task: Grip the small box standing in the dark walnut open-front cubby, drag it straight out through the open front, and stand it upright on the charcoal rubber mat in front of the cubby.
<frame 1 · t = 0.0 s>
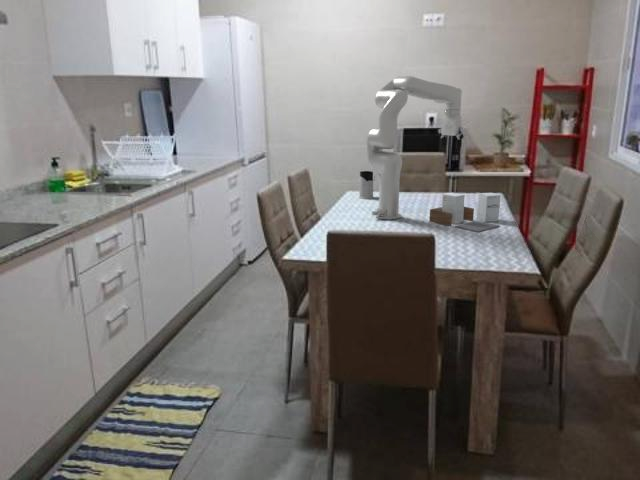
hand: (450, 146, 277), 31 cm above the table, tool pointing down, fingers open, 9 cm apart
small box: (452, 222, 248), on the table
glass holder: (370, 197, 309), on the table
cubby: (452, 221, 248), on the table
supplement box: (487, 220, 250), on the table
mat: (477, 227, 237), on the table
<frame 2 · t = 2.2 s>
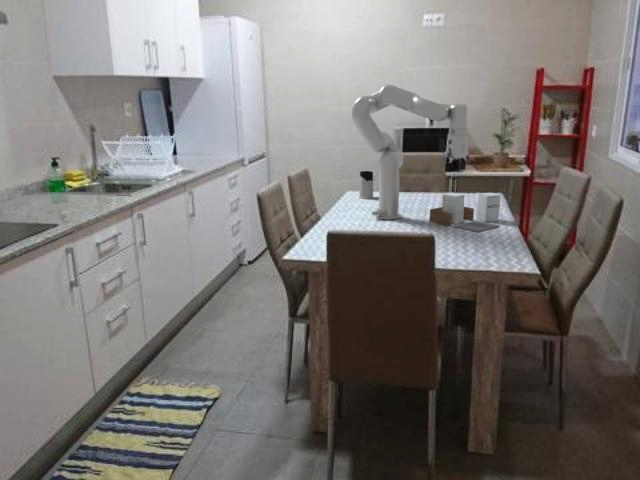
hand: (455, 170, 242), 24 cm above the table, tool pointing down, fingers open, 9 cm apart
nothing on the table moved.
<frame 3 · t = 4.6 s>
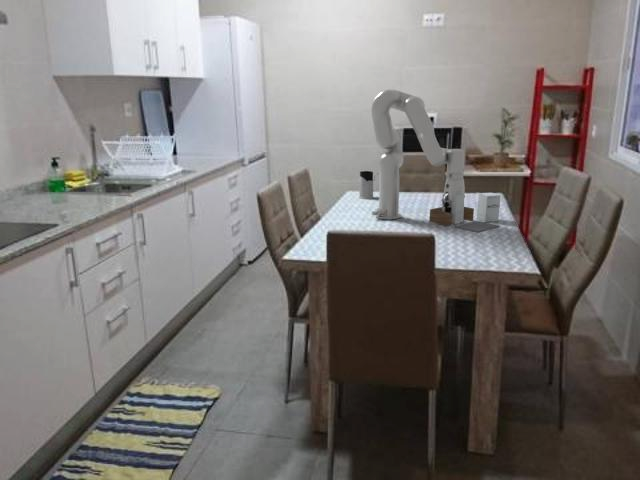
hand: (452, 214, 247), 4 cm above the table, tool pointing down, fingers closed on small box, 6 cm apart
small box: (452, 222, 248), on the table, touching gripper
everything else where it was.
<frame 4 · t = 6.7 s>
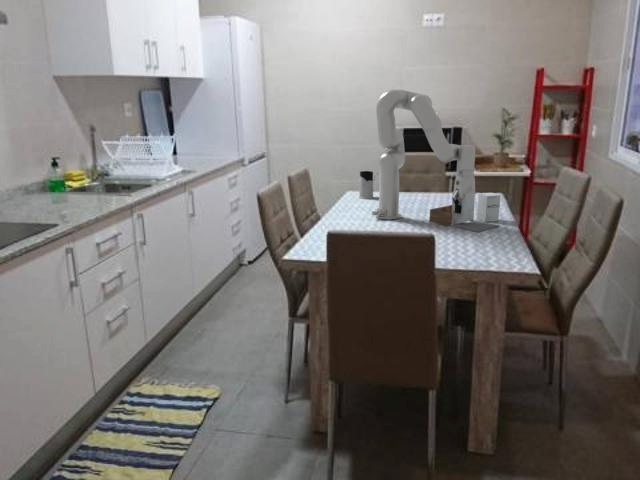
hand: (462, 211, 242), 6 cm above the table, tool pointing down, fingers closed on small box, 6 cm apart
small box: (462, 219, 243), point 2 cm above the table, touching gripper
everything else where it was.
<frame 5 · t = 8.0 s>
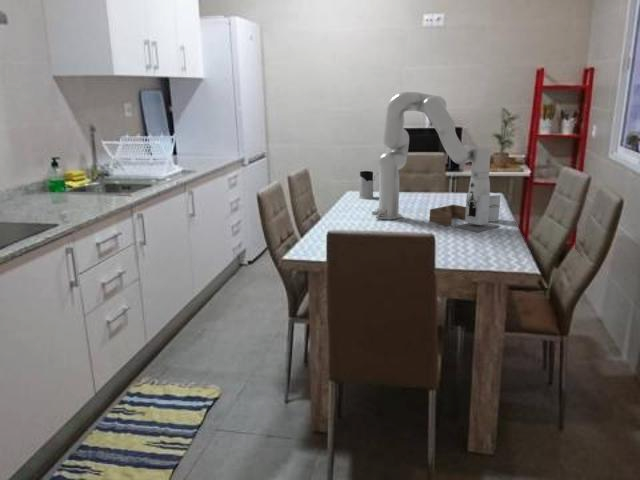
hand: (476, 214, 236), 6 cm above the table, tool pointing down, fingers closed on small box, 6 cm apart
small box: (476, 223, 237), point 2 cm above the table, touching gripper
everything else where it was.
when the fingers open (4 cm above the table, at t = 9.0 s): small box stays where it is, resting on mat.
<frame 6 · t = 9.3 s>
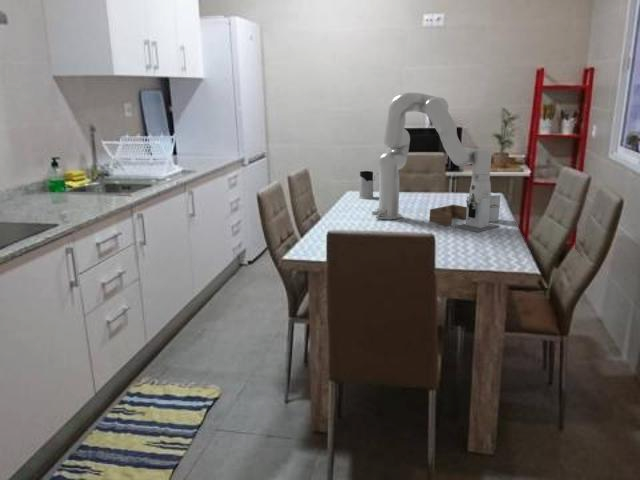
hand: (478, 215, 236), 5 cm above the table, tool pointing down, fingers open, 8 cm apart
small box: (476, 226, 238), resting on mat
everything else where it was.
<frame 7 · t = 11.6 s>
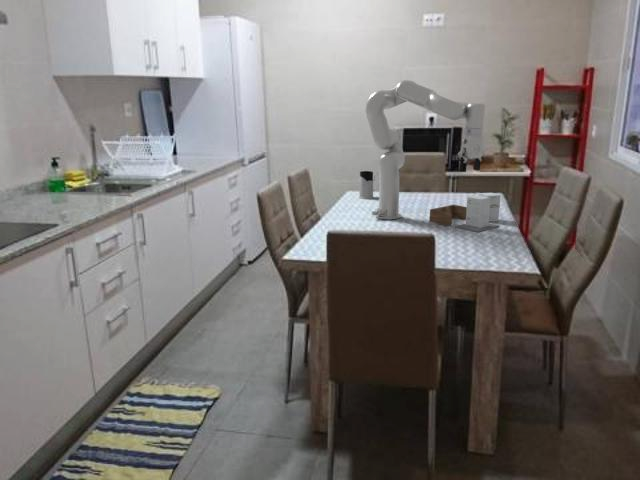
hand: (469, 170, 237), 24 cm above the table, tool pointing down, fingers open, 9 cm apart
nothing on the table moved.
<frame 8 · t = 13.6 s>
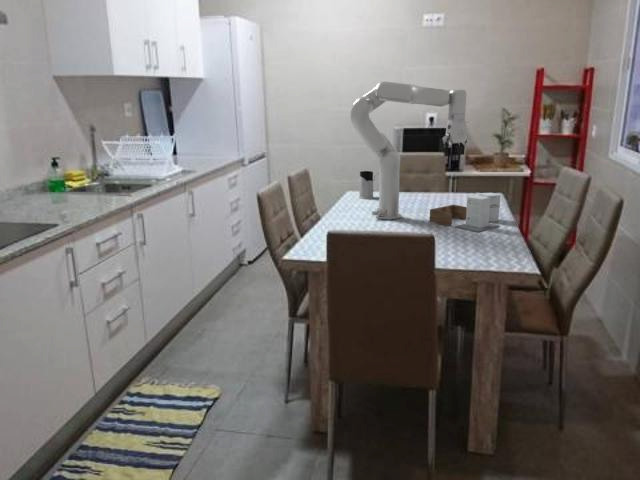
hand: (454, 155, 245), 30 cm above the table, tool pointing down, fingers open, 9 cm apart
nothing on the table moved.
at the end: small box inside the target area on the mat (0.2 cm from its centre), point 0.4 cm above the mat's base; small box tilted 0°; the gripper is holding nothing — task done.
